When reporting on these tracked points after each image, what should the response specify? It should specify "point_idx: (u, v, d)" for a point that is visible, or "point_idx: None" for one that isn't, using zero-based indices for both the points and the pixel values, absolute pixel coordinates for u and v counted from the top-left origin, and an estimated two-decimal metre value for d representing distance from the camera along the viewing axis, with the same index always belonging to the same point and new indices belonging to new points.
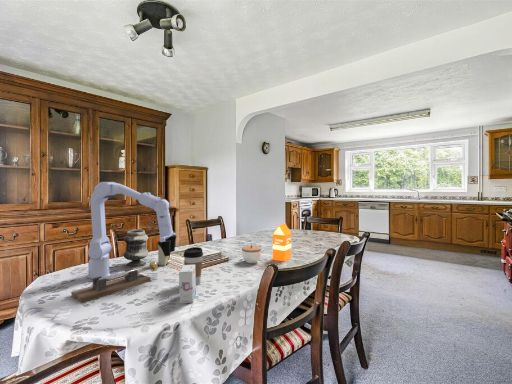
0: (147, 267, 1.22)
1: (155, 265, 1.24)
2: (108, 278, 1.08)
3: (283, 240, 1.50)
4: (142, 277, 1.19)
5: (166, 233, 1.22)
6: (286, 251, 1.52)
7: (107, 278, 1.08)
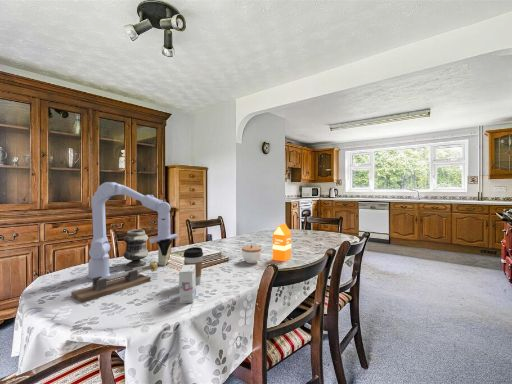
0: (147, 267, 1.22)
1: (155, 265, 1.24)
2: (108, 278, 1.08)
3: (283, 240, 1.50)
4: (142, 277, 1.19)
5: (160, 235, 1.27)
6: (286, 251, 1.52)
7: (107, 278, 1.08)
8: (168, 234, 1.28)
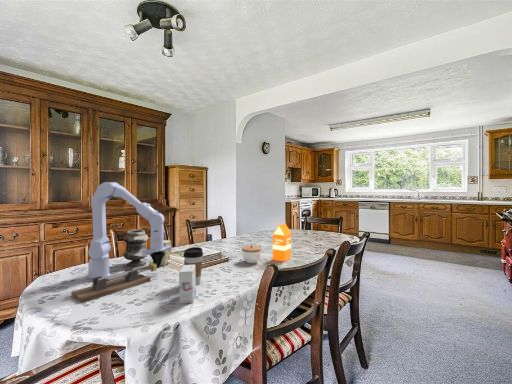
0: (146, 267, 1.22)
1: (154, 265, 1.24)
2: (107, 278, 1.08)
3: (283, 240, 1.50)
4: (142, 277, 1.19)
5: (153, 248, 1.24)
6: (286, 251, 1.52)
7: (106, 278, 1.08)
8: (161, 246, 1.25)
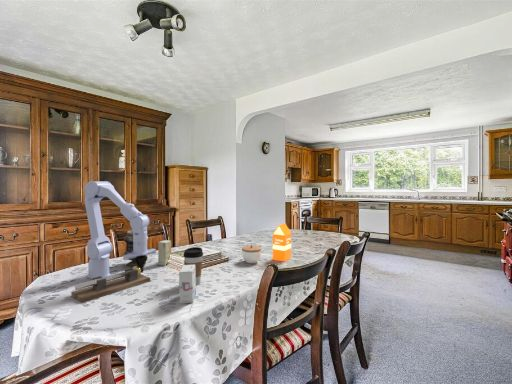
0: None
1: (138, 270, 1.17)
2: (86, 284, 1.02)
3: (283, 240, 1.50)
4: (142, 277, 1.19)
5: (135, 251, 1.17)
6: (286, 251, 1.52)
7: (84, 284, 1.02)
8: (144, 250, 1.19)
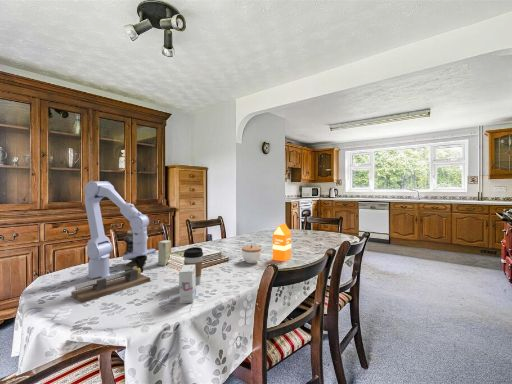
0: None
1: (138, 270, 1.17)
2: (85, 284, 1.02)
3: (283, 240, 1.50)
4: (142, 277, 1.19)
5: (135, 251, 1.17)
6: (286, 251, 1.52)
7: (84, 284, 1.01)
8: (144, 250, 1.19)
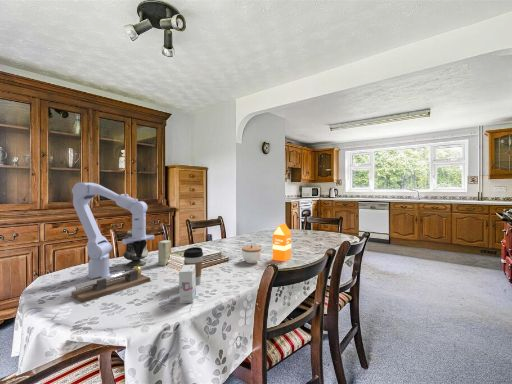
0: None
1: (139, 269, 1.18)
2: (86, 284, 1.02)
3: (283, 240, 1.50)
4: (142, 277, 1.19)
5: (134, 236, 1.21)
6: (286, 251, 1.52)
7: (85, 284, 1.02)
8: (143, 235, 1.22)
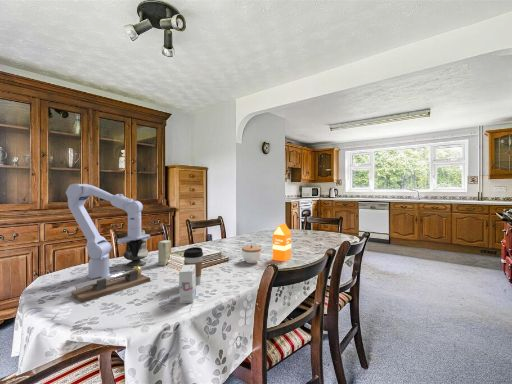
0: None
1: (139, 269, 1.18)
2: (86, 284, 1.02)
3: (283, 240, 1.50)
4: (142, 277, 1.19)
5: (129, 236, 1.21)
6: (286, 251, 1.52)
7: (85, 284, 1.02)
8: (138, 234, 1.23)
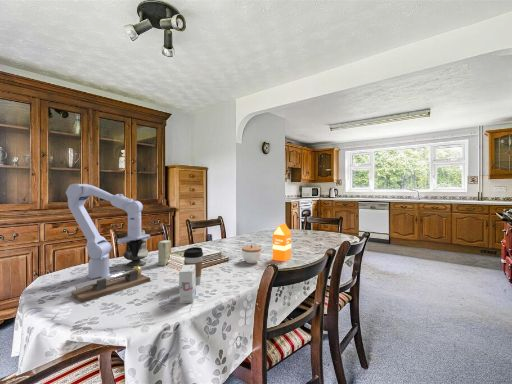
0: None
1: (139, 269, 1.18)
2: (86, 284, 1.02)
3: (283, 240, 1.50)
4: (142, 277, 1.19)
5: (129, 236, 1.21)
6: (286, 251, 1.52)
7: (85, 284, 1.02)
8: (138, 234, 1.23)
